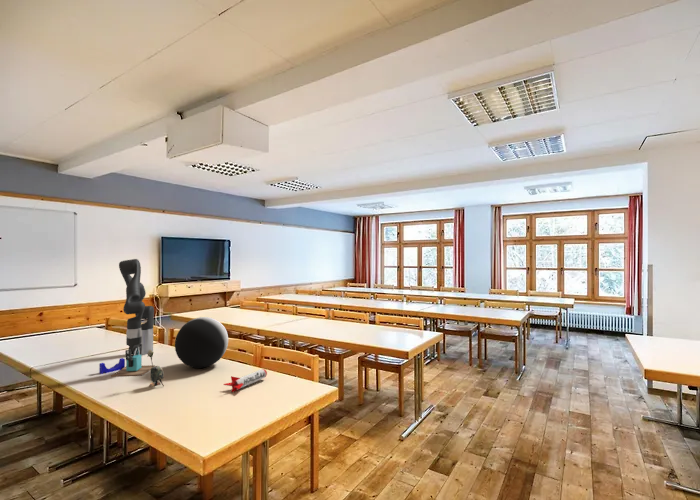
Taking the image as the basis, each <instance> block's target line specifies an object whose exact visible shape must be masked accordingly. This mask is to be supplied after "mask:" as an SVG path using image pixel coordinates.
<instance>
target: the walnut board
mask: <svg viewBox="0 0 700 500" xmlns="http://www.w3.org/2000/svg"><path fill="white" fill-rule="evenodd" d="M154 366H156V365H154V364H153V367H154ZM151 368H152V364H151V365H150V364H149V365H142V368H140V369H139V370H137V371H126V366H125V367H124V368H123V369H121V370H117V371H115V372H113V374H111V375H110V377H113V378H114V377H138V376H139V377H142V376H143V375H145V374H146V373H148V372H149V371H151Z"/></svg>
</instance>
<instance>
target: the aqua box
mask: <svg viewBox="0 0 700 500" xmlns="http://www.w3.org/2000/svg"><path fill="white" fill-rule="evenodd" d="M142 357H143V355H135V356H134V358H133V367H128V360H126V359H125V367H126V371H137V370H139V369H140V368H142V366H143V365H142V363H143V362H142ZM131 358H132V356H131Z"/></svg>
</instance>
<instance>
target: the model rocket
mask: <svg viewBox="0 0 700 500" xmlns="http://www.w3.org/2000/svg"><path fill="white" fill-rule="evenodd" d="M267 375H268V372H267V370H266V369H265V368H261V369H258V370H256V371H254V372H251V373H249V374H246V375H244V376H241V377H237V376H236V377H235V376H230V379H231V382H227V383H223V386H226V387H227V386H229V387H231V392H232V393H233V392H236V391H238V390H240V389H242V388H244V387H247V386H249V385H251V384H254V383H256V382H259V381H261V380H262V379H265V378H266V377H267Z"/></svg>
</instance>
